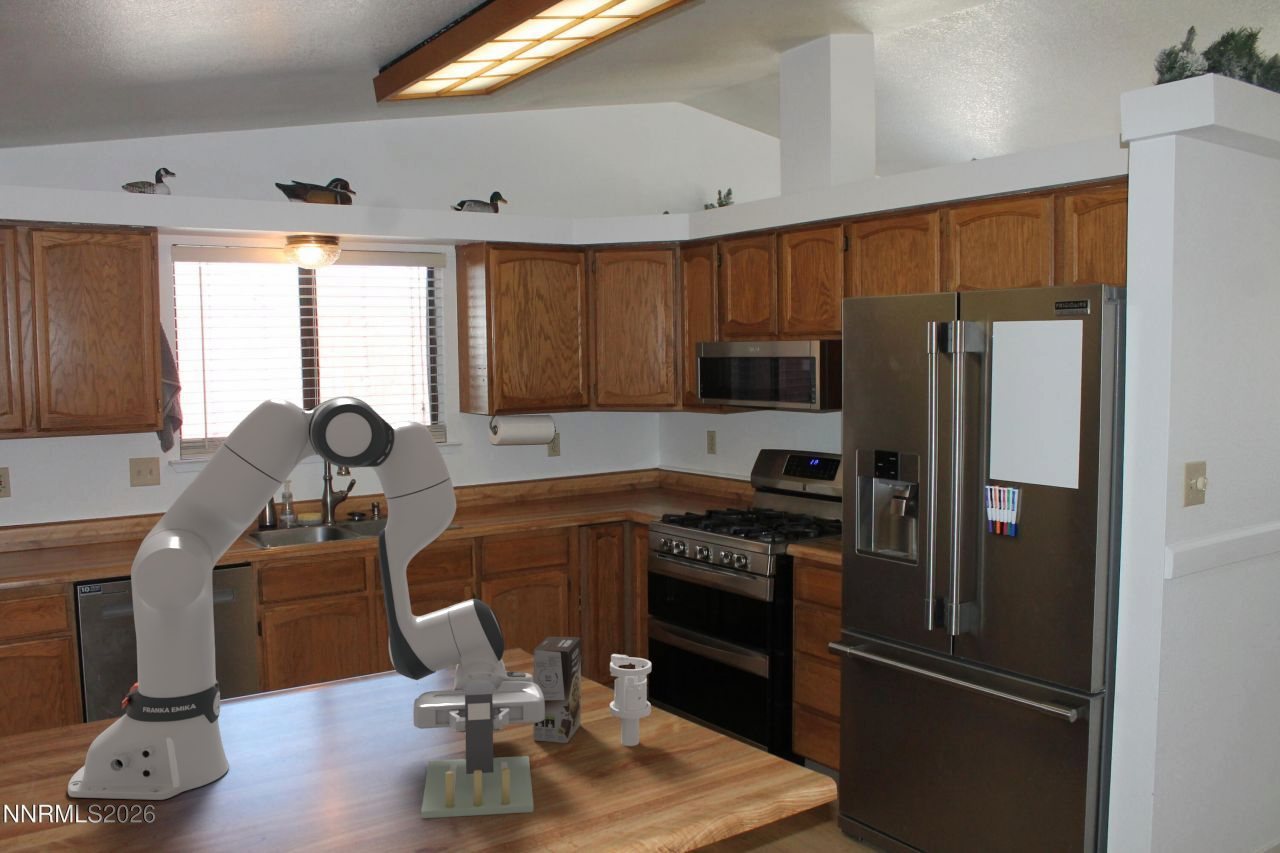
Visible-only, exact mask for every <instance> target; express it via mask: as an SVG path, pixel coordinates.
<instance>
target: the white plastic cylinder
mask: <svg viewBox="0 0 1280 853" xmlns="http://www.w3.org/2000/svg"><path fill="white" fill-rule="evenodd" d="M630 664H631V665H634V666H635V667H634V668H633V669H628V668H620V666H625V665H630ZM609 671H610V676H611V677H617V678H615V679H614V694H613V696H614V697H613V698H614V699H613V700H612V701H611V702H610V703H609V714H611V715H612V716H614V717H616V718H619V719H621V722H620V726H621V727H620V730H621V732H620V736H621V737H620V738H621V739H620V743H621V745H622V746H625V747H635V746H637V745H639V743H640V719H641V718H646V717H647V716H649V715H650V714H651V713H652V705H651V703H650V702H649V701H648V700H647V696H648V695H647V694H648V693H647V692H648V691H647V690H648V686H647V685H648V678H647V675H649V674H650V673H651V672H652V662H651V661H650V660H648V659H646V658H641V657H629V656H628V655H627V654H618V653H612V654H611V655H610V662H609Z"/></svg>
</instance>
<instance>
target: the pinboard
mask: <svg viewBox="0 0 1280 853" xmlns="http://www.w3.org/2000/svg"><path fill="white" fill-rule="evenodd" d="M427 763H428V764H427V770H426V771H427V772H426V778H425V783H424V791H423V798H422V803H421V804H422V805H421V813H420V815H421V819H433V818H434V819H435V818H437V819H438V818H449V817H451V818H452V817H453V818H454V817H468V816H470V817H471V816H486V815H503V814H506V815H507V814H517V813H519V814H521V813H524V814H525V813H534V797H533V786H532V785H533V784H532V776H531V767H530V764H531V763H530V757H529V755H526V756H525V755H521V756H504V757H503V756H501V757H499V756H498V757H493V772H492V773H482V770H475V771H474V774H466V758H462V759H442V760H441V759H440V760H438V759H437V760H428V762H427Z"/></svg>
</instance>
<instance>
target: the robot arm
mask: <svg viewBox="0 0 1280 853" xmlns="http://www.w3.org/2000/svg"><path fill="white" fill-rule="evenodd" d="M437 444H438V443H437V442H436V439H434V437H433V435H432V433H431V432H430V430H429V428H428V427H426V426H425V425H424V424H422V423H421V422H420V423H419V422H417V421H409V420H408V421H399V422H397V423H393V424H392V423H391V424H390V423H389V422H387V421H386V420H385V419H383V418H382V416H380V414H378V412H376V411H375V409H373V408H372V406H371V405H369V404H368V403H367V402H365V401H363V400H362V399H360V398H358V397H357V398H356V397H353V396H337V397H334V398H330V399H328V400H325V401H323V402H321V403H318V404H316V405H314V406H310V407H309V408H306V409H303V408H301V407H299V406H298V405H297V404H295V403H293V402H292V401H288V400H285V399H281V398H270V399H267V400H265V401H263V402H262V403H260V404H259V405H258V406H257V407H255V408H254V409H253V410H252V411H251V412H250V413H249V414H248V415H247V416H246V417H244V418H243V419H242V420H241V422H239V423H238V425H236V427H235V428H234V429H232V431H231V432H230V433H229V434H228V436H227V437H226V438H225V439H224V441H223V442H222V443H221V444H220V446H219V447H218V449H216V451H215V452H213V455H212V456H211V457H210V459H209V460H208V461H207V462H206V463H205V465H204V466H203V467H202V469H201V470H200V471H199V472H198V474H197V475H196V476H195V477H194V479H193V480H192V481H191V482H190V484H189V485H188V486H187V487H186V489H184V491H183V492H182V493H181V494H180V495H179V496H178V498H177V499H176V500H175V501H174V502H173V503H172V505H171V506H170V507H169V508H168V510H166V512H165V513H164V514H163V515H162V517H161V518H160V519H159V520H158V522H157V523H156V524H155V525H154V526H153V527H152V529H151V530H150V531H149V532H148V534H147V535H146V536H145V537H144V539H143V540H142V542H141V544H140V546H139V549H138V550H137V552H136V555H135V557H134V559H133V562H132V565H131V569H130V578H131V579H130V580H131V582H130V583H131V596H132V609H133V619H134V628H135V636H136V638H135V639H136V658H137V663H136V664H137V682H136V683H134V685H132V686H131V687H130V689H129V692H128V693H126V695H125V697H124V698H125V699H124V700H122V702H121V704H122V707H121V708H122V709H123V710H125V714H123V715H122V716H121V717H120V718H118V719H117V720H115V722H113V723H112V724H111V725H109V726H108V727H107V728H105V730H103V731H102V732H101V733H100V734H99V735H98V736H96V738H94V740H93V741H92V742H91V744H90V746H89V748H88V750H87V753H86V757H85V761H84V762H85V763H84V765H83V766H82V767H81V768H79V769H78V770H77V771H76V772H75V773H74V774H73V776H72V777H71V778H70V780H69V782H68V785H67V794H68V796H69V797H70V798H85V799H86V798H87V799H117V800H118V799H119V800H121V799H123V800H124V799H125V800H152V801H153V800H154V801H155V800H156V801H158V800H159V801H162V800H163V801H164V800H166V799H169V798H172V797H174V796H177V795H179V794H181V793H183V792H186V791H189V790H192V789H196V788H199V787H202V786H205V785H209V784H210V783H212V782H214V781H217V780H218V779H220V778H221V777H222V776H224V775H225V774H226V772H228V770H229V767H230V764H229V762H228V761H229V760H228V759H227V756H226V753H225V750H224V746H223V741H222V736H221V731H220V723H219V717H220V713H221V696H220V695H221V693H220V688H219V681H218V679H216V675H217V674H216V644H215V641H216V640H215V636H216V635H215V622H214V621H215V618H214V595H213V594H214V593H213V570H214V568H215V565H217V563H218V561H219V560H221V559H222V557H223V556H224V555H225V553H226V552H227V551H228V550H229V549H230V548H231V547H232V545H234V543H235V542H236V541H237V540H238V538H240V537H241V535H242V534H243V533H244V532H245V531H246V530H247V529H249V527H250V526H251V525H252V524H253V523H254V521H255V520H256V519H257V518H258V517H259V515H260V514H261V513H262V511H263V510H264V509H265V507H266V506H267V505H268V503H269V502H270V501H271V500H272V499H273V496H275V494H277V491H279V489H280V488H281V487H282V486H283V484H284V483H285V481H286V480H287V479H288V477H289V476H290V474H292V472H293V471H294V470H295V468H296V467H297V466H298V465H299V464H300V463H301V462H302V461H303V460H306V459H307V458H309V457H312V456H319V457H320V458H322V459H323V460H324V461H325V462H327V463H329V464H331V465H333V466H336V467H339V468H345V469H346V468H348V469H349V468H350V469H352V468H353V469H354V468H371V469H373V471H375V473H376V475H377V477H378V480H379V482H380V485H381V488H382V491H383V494H384V497H385V501H386V504H387V519H386V520H387V521H386V525H385V527H384V528H383V529H381V531H380V532H379V535H378V541H377V548H378V549H377V551H378V562H379V570H380V578H381V586H382V593H383V598H384V605H385V606H384V607H385V612H386V621H387V628H388V653H389V658H390V661H391V664H392V666H393V667H394V670H395V672H396V673H398V674H400V675H401V676H402V677H405V678H409V679H410V680H411V679H412V680H414V681H419V680H422V679H423V678H426V677H428V676H430V675H433V674H435V673H436V672H438V671H441V670H445V669H447V668H450V667H453V666H456V667H455V672H454V678H453V679H454V682H453V683H454V684H453V689H449V690H448V689H447V690H433V691H426V692H423V693H421V694H420V695H419V696H418V697H416V698H415V699H414V702H413V712H412V713H413V718H412V719H413V726H414V727H415V728H417V729H422V730H424V729H436V728H437V729H440V728H442V729H443V728H453V729H455V732H456V733H466V727H465V688H466V684H477V683H492V699H493V732H494V731H503V727H505V726H506V725H513V724H517V725H518V724H531V723H532V724H534V723H538V722H541V721H543V720H544V718H545V702H544V696H543V693H542V691H541V689H540V687H539V686H538V685H537V684H535V683H534V674H531V673H527V672H517V671H509V670H506V666H505V663H504V660H503V656H504V654H505V653H504V652H505V649H506V646H505V639H504V634H503V630H502V628H501V625H500V621H499V619H498V616H497V615H496V612H495V611H494V610H493V608H492V607H491V606H490V605H488V604H487V603H485V602H484V601H482V600H479V599H477V598H472V599H468V600H464V601H462V602H459V603H455V604H452V605H450V606H448V607H444V608H441V609H438V610H436V611H433V612H429V613H426V614H423V615H420V616H419V615H417V616H416V615H414V614H413V613H412V607H411V606H412V605H411V600H410V593H409V585H408V578H407V569H408V568H407V567H408V565H409V563H410V561H411V560H412V559H413V558H414V557H415V556H416V555H417V554H419V553H420V551H422V550H423V549H425V548H426V547H427V546H428V545H430V544H431V543H432V542H433V541H435V540H436V539H437V538H438V537H439V536H440V535H442V534H443V533H444V532H445V531H446V530H447V529H448V527H449V526H450V524H451V523H452V522H453V519H454V517H455V515H456V510H457V499H456V494H455V490H454V485H453V482H452V479H451V476H450V472H449V470H448V468H447V464H446V462H445V460H444V458H443V454H442V452H441V450H440V448H439V446H438V445H437Z"/></svg>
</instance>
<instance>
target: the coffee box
mask: <svg viewBox="0 0 1280 853" xmlns="http://www.w3.org/2000/svg"><path fill="white" fill-rule="evenodd" d="M581 658H582V637H574V636H573V637H572V636H549V635H548V636H547V637H546V638H544V640H542V642H540V643H539V644H538V645H537V646H536V647H535V648H534V649H533V680H534V683H535V684H537V685H538V686H539V687H540V689H541V691H542V693H543V696H544V702H545V718H544V720H543V721H541V722H538V723H533V725H532V726H533V727H532V728H533V735H532V738H533V739H532V740H533V741H538V742H548V743H557V744H568V742H569V741H570V740H571V738H573V735H574V734H575V733H576V732H577V730H578V729H579V728H580V726H581V717H582V716H581V714H582V712H581V711H582V710H581V706H582V702H581V701H582V700H581V698H582V696H581V694H582V693H581V692H582V688H581V686H582V683H581V681H582V674H581V672H582V671H581V670H582V667H581V664H582V659H581Z"/></svg>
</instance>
